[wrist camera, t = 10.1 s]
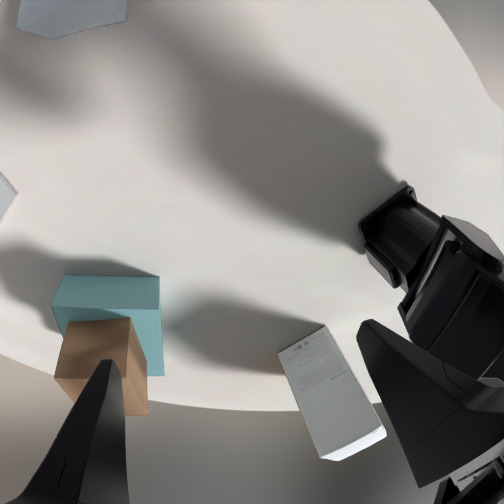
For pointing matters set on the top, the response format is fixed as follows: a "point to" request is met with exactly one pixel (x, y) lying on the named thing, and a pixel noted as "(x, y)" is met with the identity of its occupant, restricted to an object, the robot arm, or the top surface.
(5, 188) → the tile
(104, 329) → the walnut cube
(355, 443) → the small box
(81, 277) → the teal base block
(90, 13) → the grey cube
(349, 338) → the top surface
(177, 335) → the top surface
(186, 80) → the top surface
